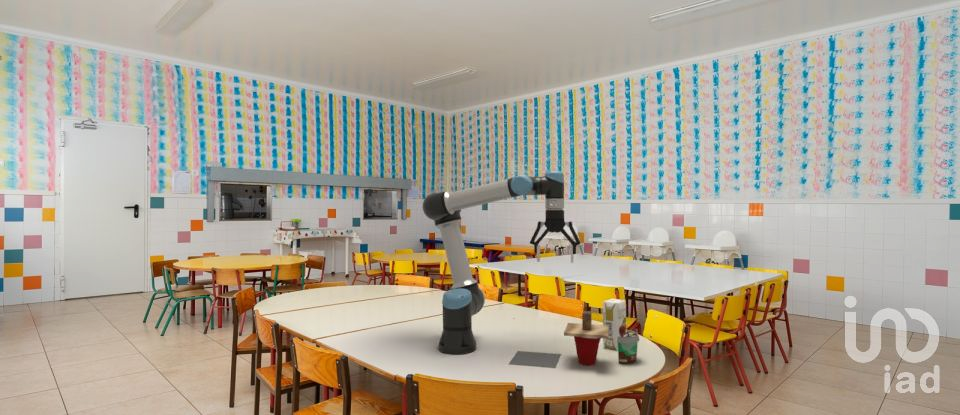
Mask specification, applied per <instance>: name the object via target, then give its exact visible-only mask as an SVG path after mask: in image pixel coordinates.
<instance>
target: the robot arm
mask: <svg viewBox="0 0 960 415" xmlns="http://www.w3.org/2000/svg"><path fill="white" fill-rule="evenodd" d="M564 176H565V175H564V172H562V171H559V170H552V171H551V170H550V171H545V173H544V176H529V175H527V174H519V175H516V176H514V177H510V178H506V179H502V180H498V181H493V182H490V183H489V182H488V183H485V184H482V185H481V184H480V185H476V186H473V187H472V186H471V187H468V188H464V189H460V190H457V191H452V192H451V191H449V190H445V191H441V192H440V191H439V192H432V193H429V194H428V195H427V196H425V198H424V200H423V202H422V210H423V214H424V215H425V216H426V217H427V218H428V219H429V220H433V222H434V227H435V228H437V229H439V232H440V236H441V240H442V244H443V248H444V250H445V254H446V258H447V263H448V267H449V271H450V275H451V278H452V282H453V284H452V286H451V287H450V289H449V290H446V291H445V292H444V293H443V294H442V301H441V304H442V332H441V335H440V339H439V341H438V351H440V352H441V353H444V354H447V355H449V354H450V355H462V354H464V355H465V354H469V353H473V352H475V351H476V349H477V342H476V338H475V335H474V332H473V329H472V328H473V327H472V326H473V324H472V323H473V322H472V321H473V320H472V319H473V317H474V315H476V314H479V312H480V311H481V310H482V309H483V308H484V305H485V302H486V301H485V300H486V299H485V298H486V297H485V294H484V292H483V289H481V288H480V287H479V283H478V281H477V280H476V279H475V278H474V277H473V274H472V270H471V267H470V263H469V258H468V254H467V249H466V246H465V244H464V239H463V238H464V237H463V235H462V231H461V227H460V224H461V222H462V217H461V212H462V210H464V209H468V208H474V207H477V206H481V205H485V204H489V203H494V202H498V201H503V200H507V199H511V198H516V197H517V198H518V197H520V196H545V200H544V201H545V204H544V206H545V209H546V210H545V214H544V215H545V220H544V221H541V220H539V221H538V222H537V226H536V228H535V231H534V233H533V235H532V237H531V239H530V241H529V244H530V245H533V248H534V254H536V262H537V263H539V262H541V245H539V244H540V243H541V242H542V240H543V239H544V238H545V237H546V236H547V235H548V233H550V234H551V233H561V234H562V235H563V236H564V238H566V239H567V241H568V242H569V243H570V244H571V245H570V263H571V264H572V263H574V255H576V253H577V246H580V245H581V243H582V241H581V240H580V238H579V236H578V234H577V232H576V230H575V229H574V225H573V222H572V221H571V220H570V221H565V210H564V209H565V181H564V180H565V179H564ZM565 226H567V228H569V230H570V233H571V235H572V236H573V238H574V239H573V238H572V237H571V236H570V235H569V234H568V232H567V230H565V229H564V228H565ZM543 227H546V229H545V230H544V231H543V232H542V234H540V236H539V237H538V235H539V233H540V230H541V229H542V228H543ZM537 237H538V238H537ZM536 239H537V240H536ZM574 240H575V241H574Z"/></svg>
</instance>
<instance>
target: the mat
mask: <svg viewBox="0 0 960 415" xmlns="http://www.w3.org/2000/svg"><path fill="white" fill-rule="evenodd" d="M561 356H562V354H561V353H552V352H551V353H550V352H539V351H527V350H526V351H524V350H517V351H516V353H515V354H514V355H513V357H512V359H511V360H510V361H509V363H508V365H510V366H511V365H513V366H522V367H535V368H536V367H537V368H546V369H547V368H548V369H556V368H557V365H558V363H559V361H560V359H561Z"/></svg>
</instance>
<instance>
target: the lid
mask: <svg viewBox="0 0 960 415" xmlns="http://www.w3.org/2000/svg"><path fill="white" fill-rule="evenodd" d="M581 316H582V317H581V318H582V319H581V320H582V321H581V322H582V323H575V322H574V323H572V322H567V324H566V326H565V330H564V331H563V336H565V337H574V336H576V337H592V338H601V339H603V338H607V339H608V331H609V325H603V324H594V323H592V311H591V310H590V311H588V310H583V311H582V315H581Z"/></svg>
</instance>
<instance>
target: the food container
mask: <svg viewBox="0 0 960 415" xmlns="http://www.w3.org/2000/svg"><path fill="white" fill-rule="evenodd" d="M639 342H640V336H639V334H638V332H637V331H633V330H629V329H626V333H625V334H623V335H622V336H621V337H618V339H617V343H618V350H617V354H618V355H617V356H618V364H620V365H632V364H635V363H636V362H637V356H638V355H637V352H638V343H639Z"/></svg>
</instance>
